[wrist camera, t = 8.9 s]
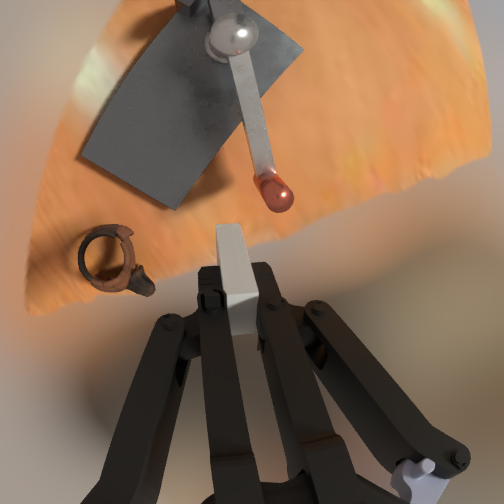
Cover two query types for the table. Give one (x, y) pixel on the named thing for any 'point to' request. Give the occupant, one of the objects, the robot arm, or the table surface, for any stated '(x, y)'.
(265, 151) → the lever
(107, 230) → the pottery mug
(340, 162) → the table surface
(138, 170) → the base board
